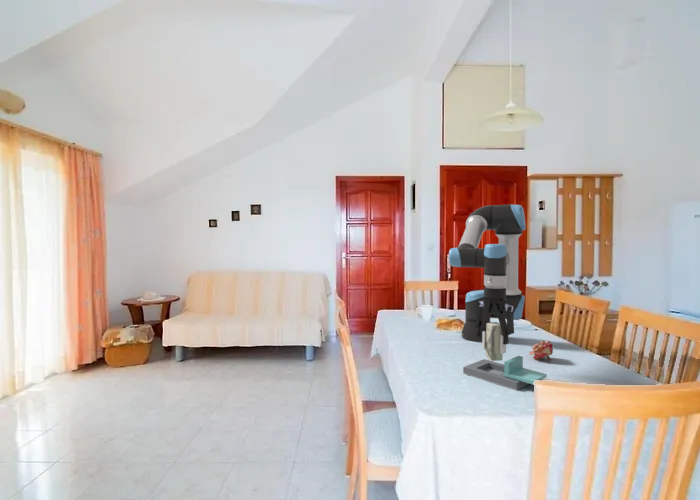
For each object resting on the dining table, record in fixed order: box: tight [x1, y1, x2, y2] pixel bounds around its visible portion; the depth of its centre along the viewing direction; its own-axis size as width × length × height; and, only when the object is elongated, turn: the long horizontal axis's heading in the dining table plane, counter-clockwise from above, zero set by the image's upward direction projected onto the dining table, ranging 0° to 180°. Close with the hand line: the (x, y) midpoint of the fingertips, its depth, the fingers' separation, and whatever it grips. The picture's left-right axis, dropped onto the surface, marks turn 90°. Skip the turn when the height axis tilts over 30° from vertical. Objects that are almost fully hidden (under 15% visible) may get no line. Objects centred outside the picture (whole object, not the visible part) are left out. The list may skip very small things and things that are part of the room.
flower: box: [528, 340, 554, 362], centre depth 158 cm, size 10×9×8 cm
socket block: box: [462, 358, 529, 391], centre depth 139 cm, size 20×14×2 cm
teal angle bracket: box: [503, 355, 548, 385], centre depth 132 cm, size 10×10×5 cm
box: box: [485, 321, 503, 362], centre depth 140 cm, size 5×4×13 cm
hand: (494, 350), depth 141 cm, fingers closed on box, 6 cm apart
